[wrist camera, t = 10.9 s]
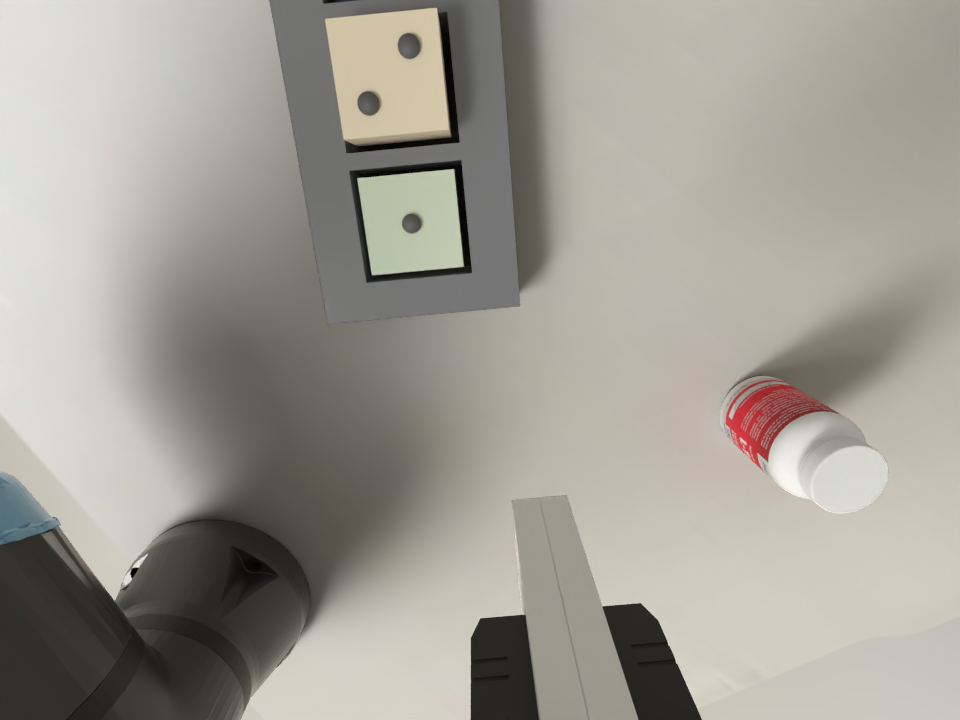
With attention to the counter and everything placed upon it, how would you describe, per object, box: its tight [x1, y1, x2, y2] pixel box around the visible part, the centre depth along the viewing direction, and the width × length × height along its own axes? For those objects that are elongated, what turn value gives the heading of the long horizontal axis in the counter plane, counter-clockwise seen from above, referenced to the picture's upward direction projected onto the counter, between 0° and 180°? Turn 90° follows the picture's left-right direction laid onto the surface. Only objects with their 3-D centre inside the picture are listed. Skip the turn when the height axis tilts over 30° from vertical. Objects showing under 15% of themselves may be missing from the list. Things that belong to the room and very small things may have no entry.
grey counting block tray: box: [270, 0, 520, 324], centre depth 33 cm, size 13×28×4 cm, turn 5°
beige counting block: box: [325, 8, 452, 146], centre depth 31 cm, size 6×6×4 cm
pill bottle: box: [720, 376, 888, 513], centre depth 37 cm, size 6×6×11 cm
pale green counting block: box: [357, 169, 464, 275], centre depth 35 cm, size 6×6×4 cm
